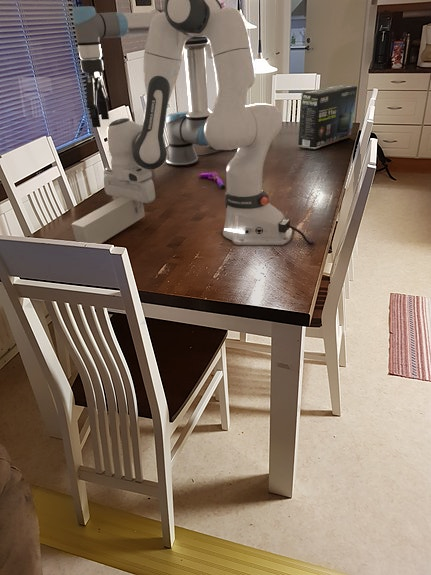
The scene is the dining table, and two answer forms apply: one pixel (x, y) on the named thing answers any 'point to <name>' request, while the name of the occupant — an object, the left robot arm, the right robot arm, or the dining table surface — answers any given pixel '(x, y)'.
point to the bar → (107, 221)
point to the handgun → (213, 176)
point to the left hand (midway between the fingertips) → (101, 123)
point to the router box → (326, 115)
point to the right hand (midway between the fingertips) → (131, 210)
